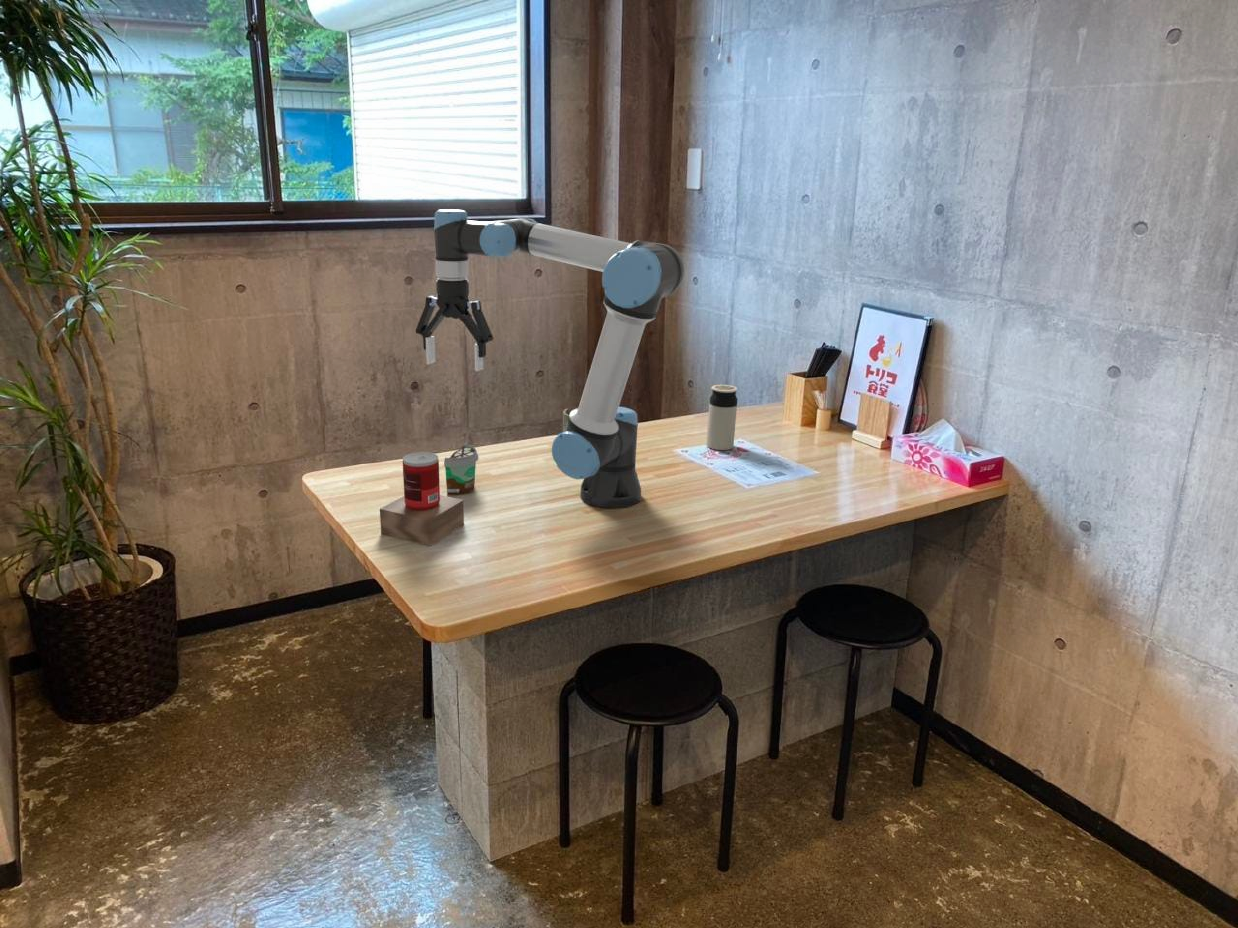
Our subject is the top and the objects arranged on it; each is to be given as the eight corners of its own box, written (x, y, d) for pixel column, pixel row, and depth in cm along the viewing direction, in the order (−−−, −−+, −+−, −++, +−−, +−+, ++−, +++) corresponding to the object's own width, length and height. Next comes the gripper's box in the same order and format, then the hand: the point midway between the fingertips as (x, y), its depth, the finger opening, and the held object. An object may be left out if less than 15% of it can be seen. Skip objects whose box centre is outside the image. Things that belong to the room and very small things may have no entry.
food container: (468, 499, 215) (467, 461, 211) (444, 496, 216) (443, 458, 212) (486, 482, 226) (485, 445, 223) (463, 479, 227) (462, 443, 224)
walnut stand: (463, 524, 201) (463, 500, 199) (430, 545, 190) (429, 520, 187) (416, 513, 206) (415, 489, 204) (381, 533, 194) (379, 508, 192)
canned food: (441, 497, 200) (440, 451, 196) (438, 511, 192) (436, 463, 188) (407, 497, 199) (405, 451, 195) (402, 511, 191) (399, 463, 188)
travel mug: (734, 451, 257) (739, 391, 251) (707, 450, 257) (711, 390, 251) (731, 443, 264) (736, 384, 258) (705, 441, 264) (709, 383, 258)
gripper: (507, 281, 205) (507, 369, 213) (416, 272, 214) (420, 357, 221) (490, 284, 199) (491, 376, 206) (398, 275, 208) (402, 363, 215)
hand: (454, 366), depth 214 cm, fingers open, 13 cm apart
